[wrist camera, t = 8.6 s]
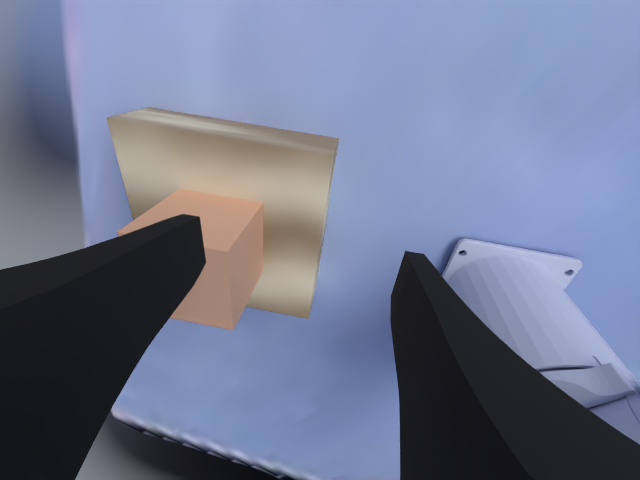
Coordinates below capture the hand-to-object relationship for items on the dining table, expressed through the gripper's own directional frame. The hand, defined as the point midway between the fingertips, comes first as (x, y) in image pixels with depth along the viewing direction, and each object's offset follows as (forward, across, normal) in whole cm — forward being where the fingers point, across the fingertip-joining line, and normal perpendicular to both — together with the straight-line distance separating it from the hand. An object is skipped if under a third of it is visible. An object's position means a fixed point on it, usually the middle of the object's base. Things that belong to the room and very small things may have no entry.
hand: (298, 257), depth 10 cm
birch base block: (+10, +6, +4) cm, 13 cm away
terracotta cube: (+6, +6, +4) cm, 9 cm away
